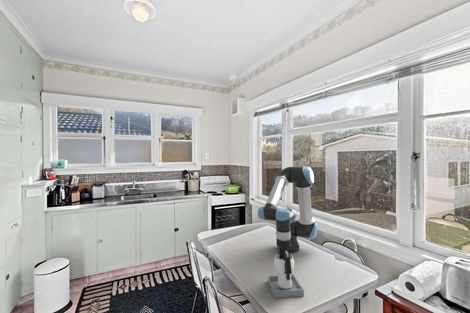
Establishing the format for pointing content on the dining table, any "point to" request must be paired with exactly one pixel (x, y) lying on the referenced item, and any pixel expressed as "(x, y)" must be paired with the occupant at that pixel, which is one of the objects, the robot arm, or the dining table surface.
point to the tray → (282, 292)
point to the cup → (282, 270)
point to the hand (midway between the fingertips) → (284, 279)
